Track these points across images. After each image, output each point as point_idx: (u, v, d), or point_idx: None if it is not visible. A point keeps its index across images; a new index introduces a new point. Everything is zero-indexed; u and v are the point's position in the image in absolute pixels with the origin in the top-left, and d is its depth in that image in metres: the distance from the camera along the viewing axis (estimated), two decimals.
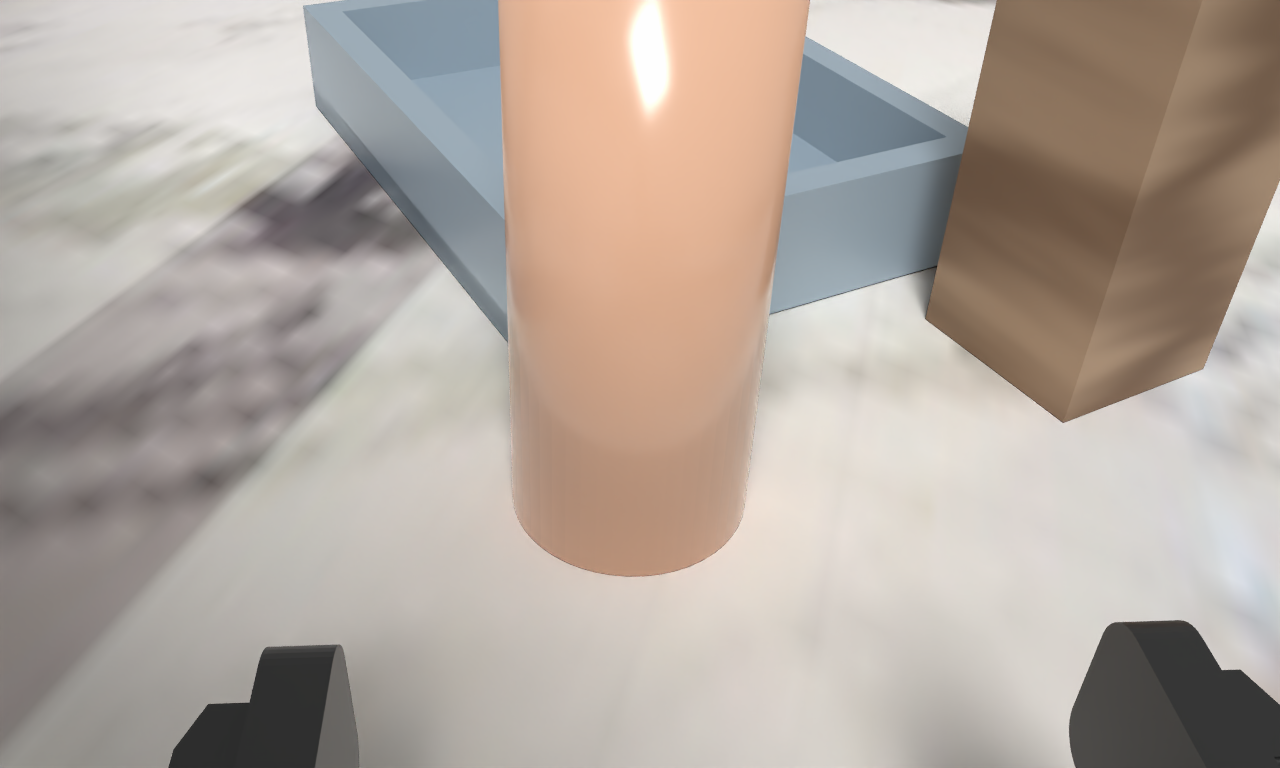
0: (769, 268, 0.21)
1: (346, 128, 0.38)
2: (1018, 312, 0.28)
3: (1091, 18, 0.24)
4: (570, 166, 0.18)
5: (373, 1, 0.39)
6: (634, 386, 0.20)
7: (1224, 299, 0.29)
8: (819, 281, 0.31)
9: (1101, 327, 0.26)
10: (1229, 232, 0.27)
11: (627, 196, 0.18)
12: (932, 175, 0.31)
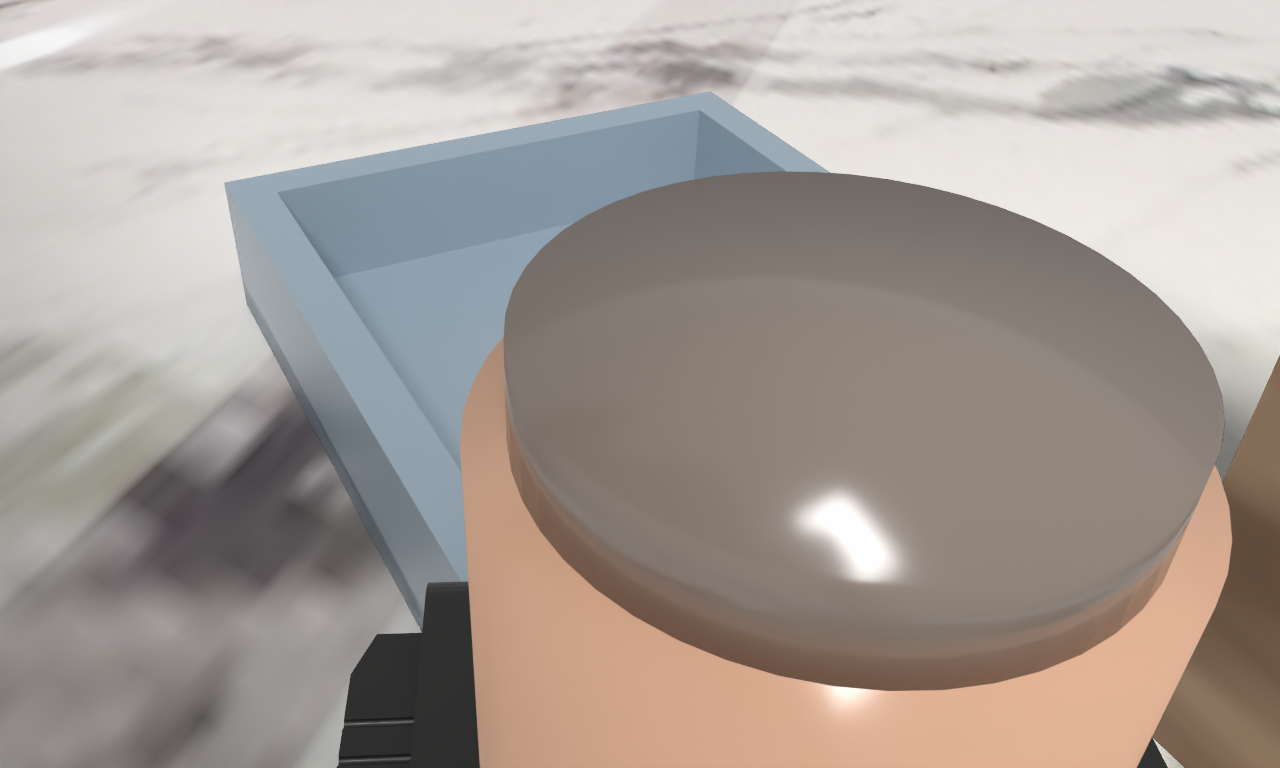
0: None
1: (281, 355, 0.28)
2: None
3: None
4: None
5: (321, 173, 0.29)
6: None
7: None
8: None
9: None
10: None
11: None
12: None
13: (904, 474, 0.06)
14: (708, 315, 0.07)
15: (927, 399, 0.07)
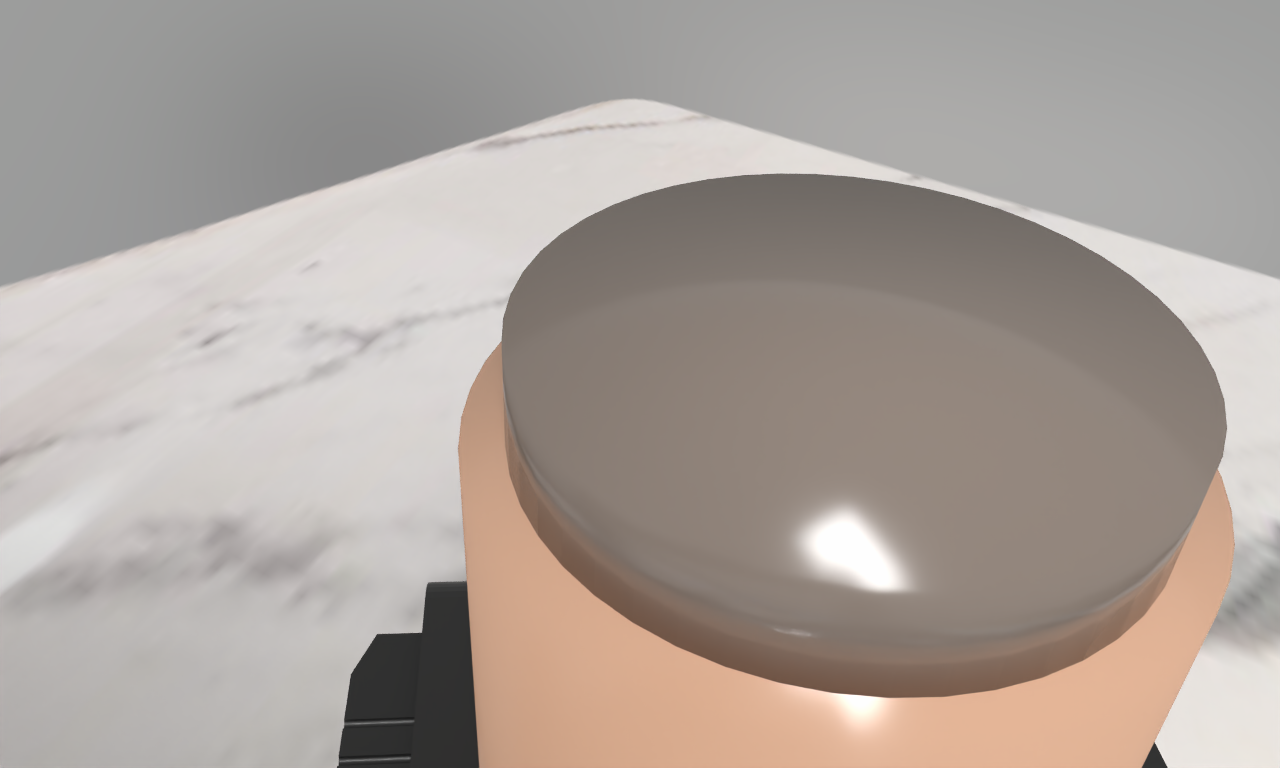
0: None
1: None
2: None
3: None
4: None
5: None
6: None
7: None
8: None
9: None
10: None
11: None
12: None
13: (904, 479, 0.06)
14: (708, 319, 0.07)
15: (928, 403, 0.07)
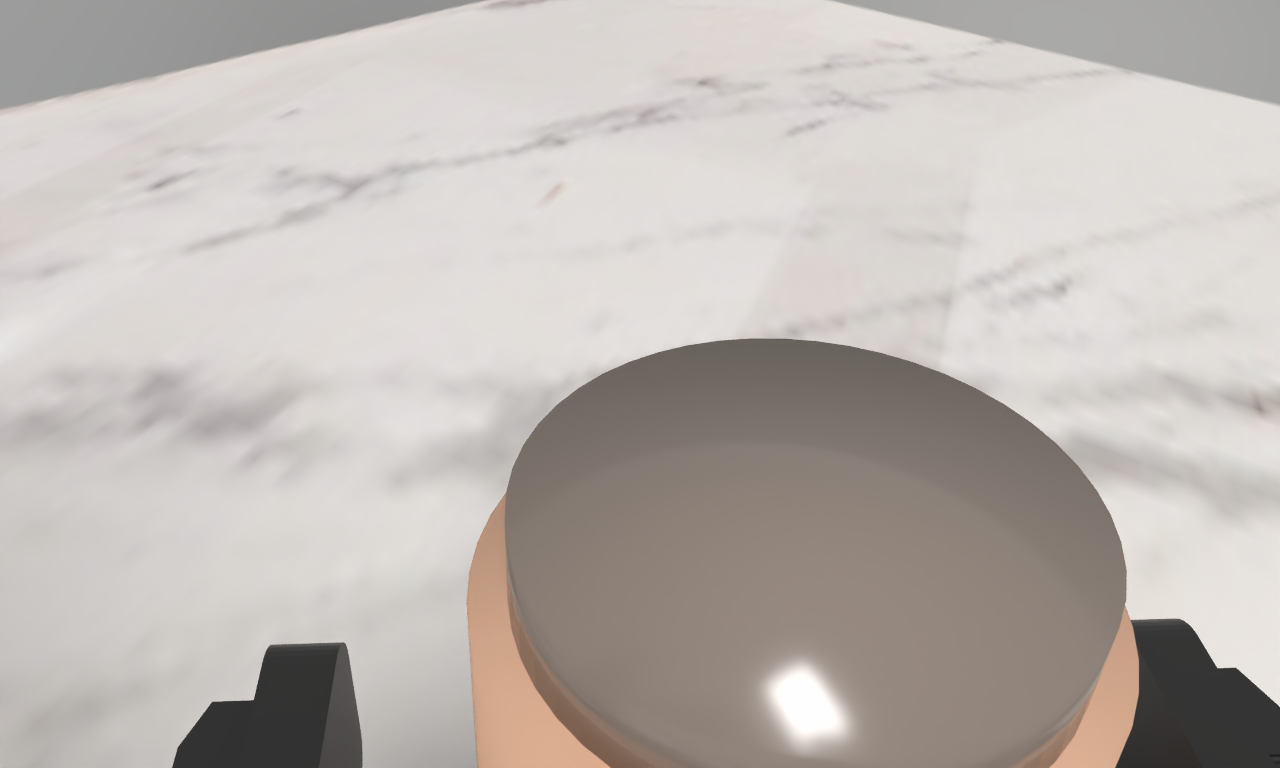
0: None
1: None
2: None
3: None
4: None
5: None
6: None
7: None
8: None
9: None
10: None
11: None
12: None
13: (845, 652, 0.07)
14: (683, 492, 0.09)
15: (869, 577, 0.08)
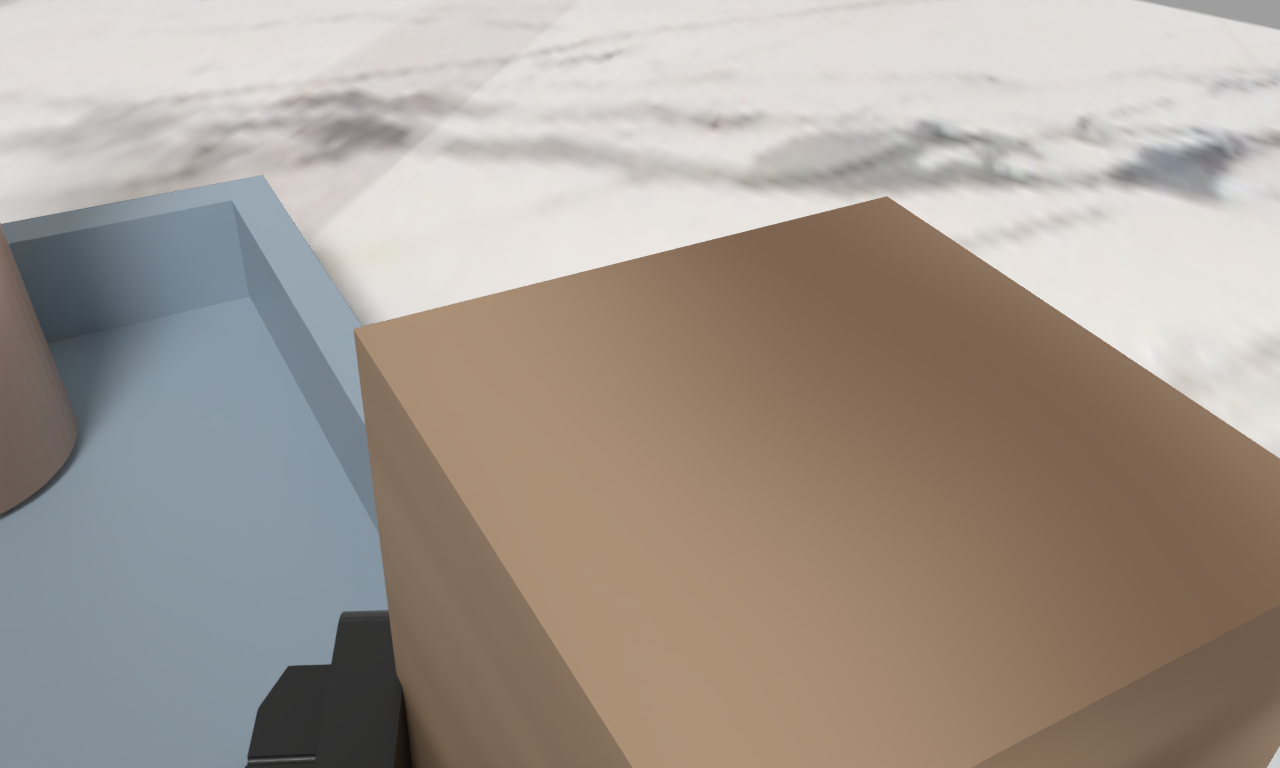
0: None
1: None
2: None
3: None
4: None
5: None
6: None
7: None
8: None
9: None
10: None
11: None
12: None
13: None
14: None
15: None
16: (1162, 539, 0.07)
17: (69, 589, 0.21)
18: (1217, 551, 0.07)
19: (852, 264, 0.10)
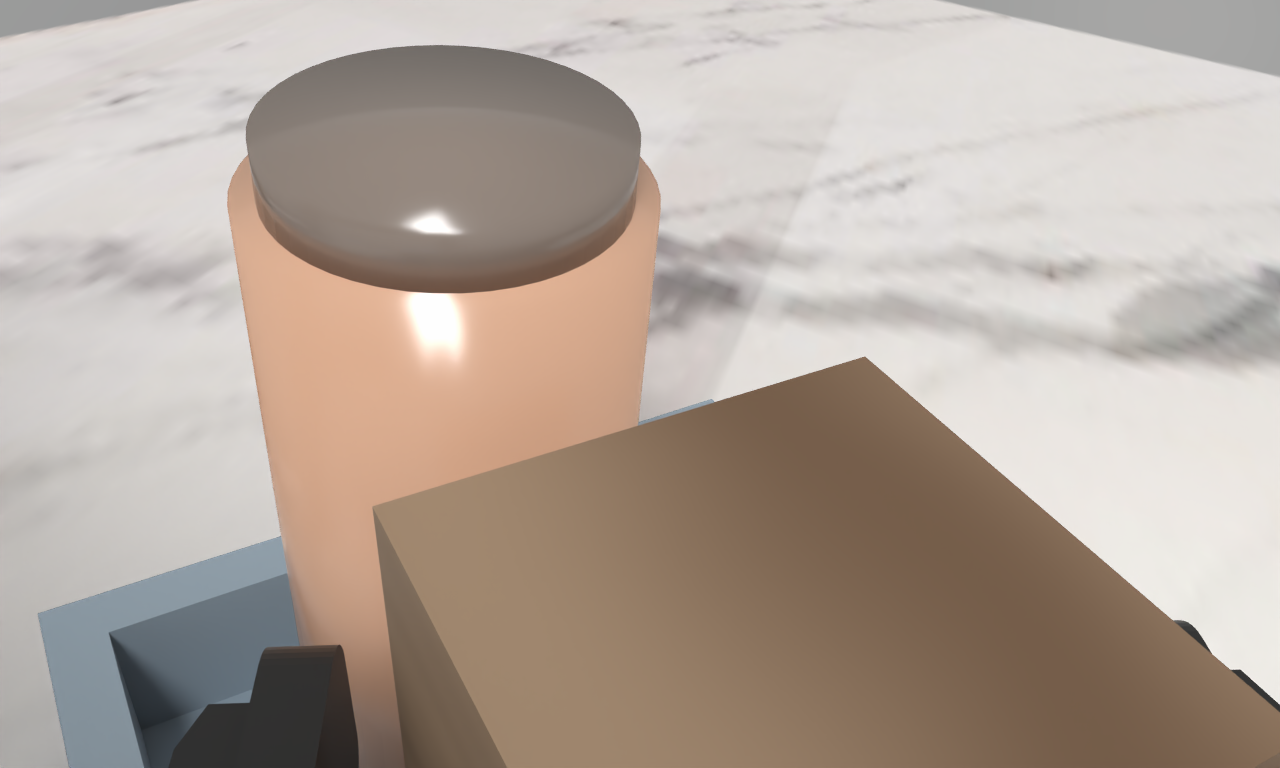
0: None
1: None
2: None
3: None
4: (287, 476, 0.14)
5: (176, 587, 0.21)
6: (377, 719, 0.16)
7: None
8: None
9: None
10: None
11: (341, 532, 0.14)
12: None
13: (393, 180, 0.12)
14: (379, 104, 0.14)
15: (445, 158, 0.13)
16: (1092, 735, 0.08)
17: None
18: (1140, 747, 0.08)
19: (829, 434, 0.10)
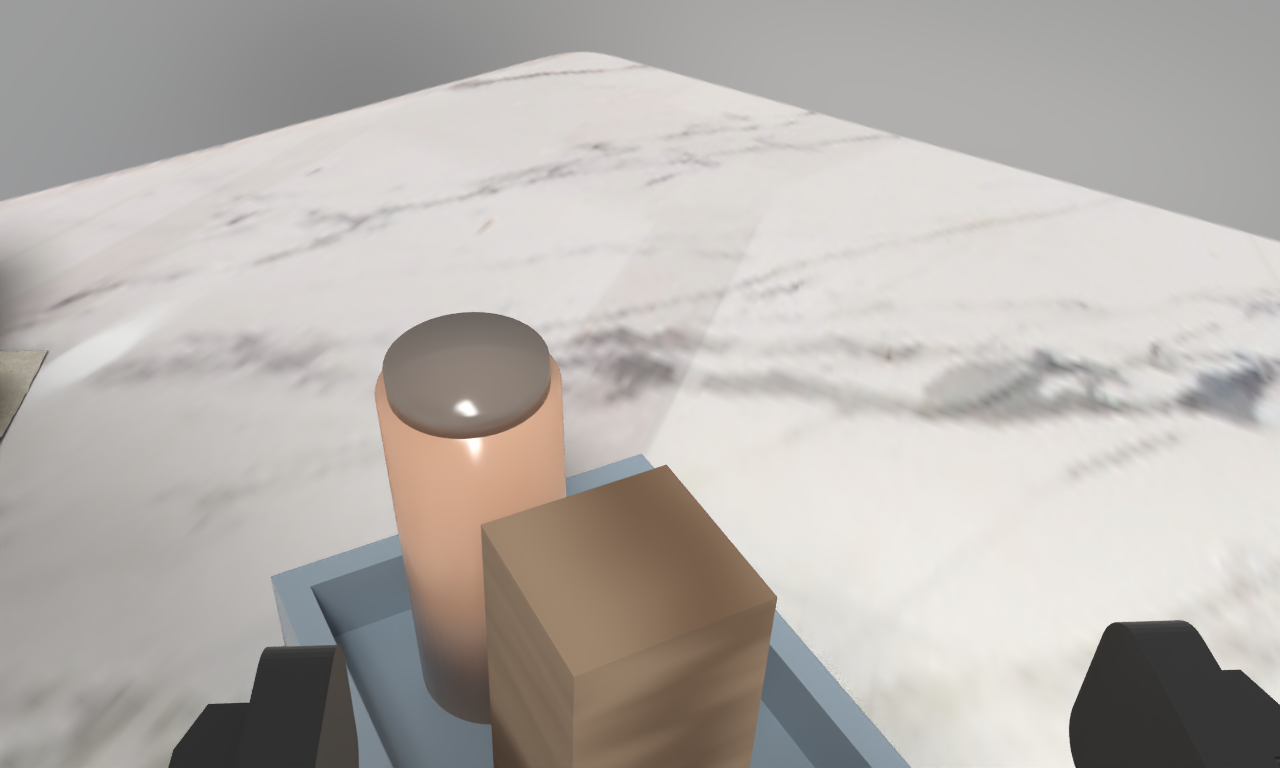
0: None
1: None
2: None
3: (528, 688, 0.27)
4: (397, 505, 0.33)
5: (342, 563, 0.39)
6: (439, 621, 0.34)
7: None
8: None
9: None
10: None
11: (419, 531, 0.32)
12: None
13: (437, 391, 0.30)
14: (440, 349, 0.31)
15: (461, 379, 0.30)
16: (709, 596, 0.26)
17: None
18: (723, 599, 0.26)
19: (645, 497, 0.28)
